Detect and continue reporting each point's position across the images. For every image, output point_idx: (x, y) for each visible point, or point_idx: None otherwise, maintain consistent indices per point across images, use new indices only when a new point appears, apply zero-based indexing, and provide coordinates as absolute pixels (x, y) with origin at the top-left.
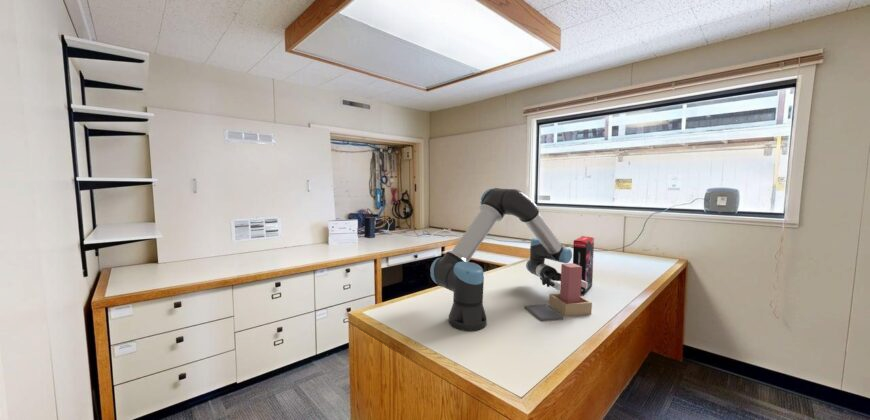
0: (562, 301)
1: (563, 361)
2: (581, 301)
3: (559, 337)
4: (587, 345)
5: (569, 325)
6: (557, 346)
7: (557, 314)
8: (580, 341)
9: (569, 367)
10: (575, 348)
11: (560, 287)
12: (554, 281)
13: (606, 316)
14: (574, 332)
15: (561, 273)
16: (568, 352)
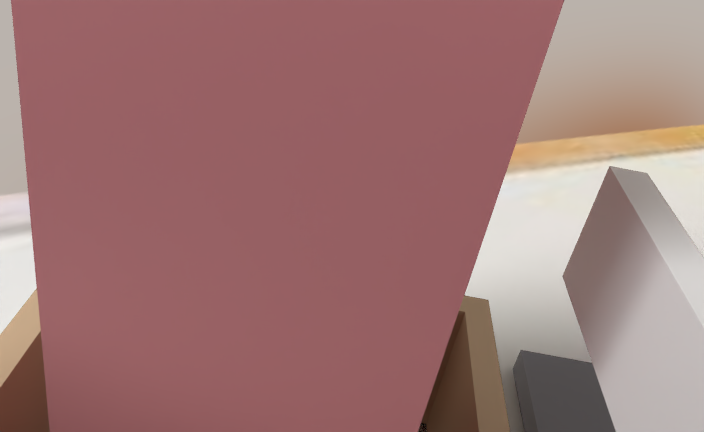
0: (473, 376)
1: (701, 146)
2: (22, 409)
3: None
4: (534, 154)
5: (515, 285)
6: (699, 194)
7: (559, 407)
8: (551, 176)
9: (687, 128)
10: (610, 162)
11: (421, 419)
12: (701, 298)
13: (5, 264)
14: (533, 226)
15: (552, 12)
16: (658, 161)
